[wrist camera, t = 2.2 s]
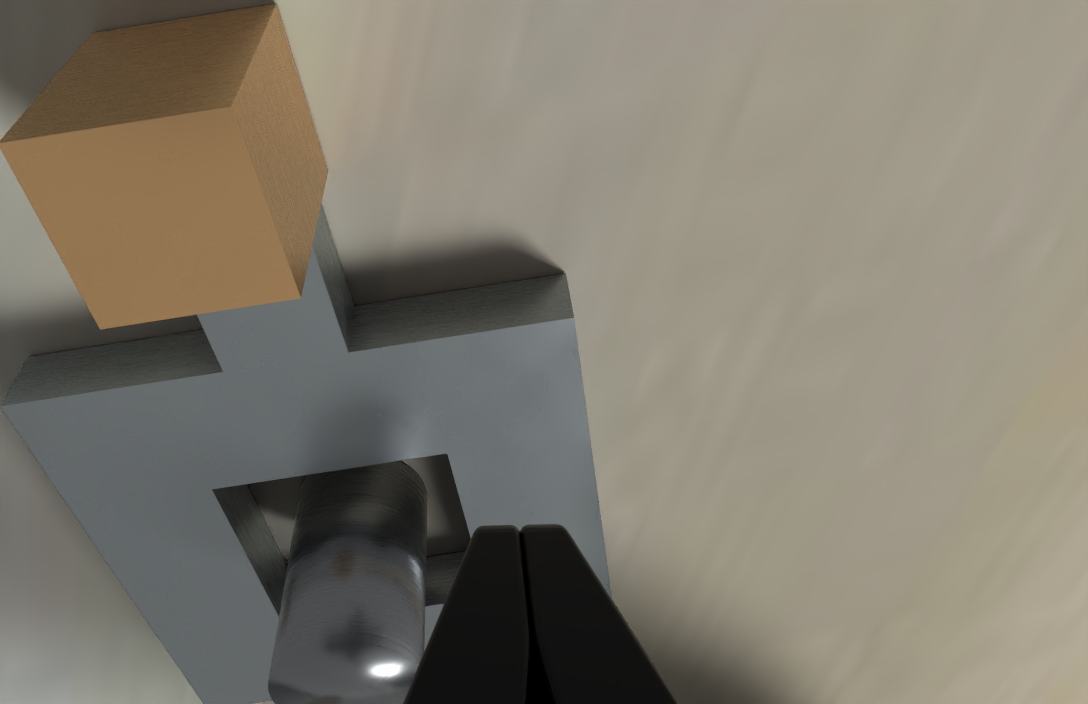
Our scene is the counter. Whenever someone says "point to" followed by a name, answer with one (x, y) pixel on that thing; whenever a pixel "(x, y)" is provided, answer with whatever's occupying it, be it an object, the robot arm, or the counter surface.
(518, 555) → the robot arm
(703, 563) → the counter surface
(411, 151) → the counter surface
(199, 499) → the flange plate
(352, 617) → the post
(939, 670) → the counter surface
